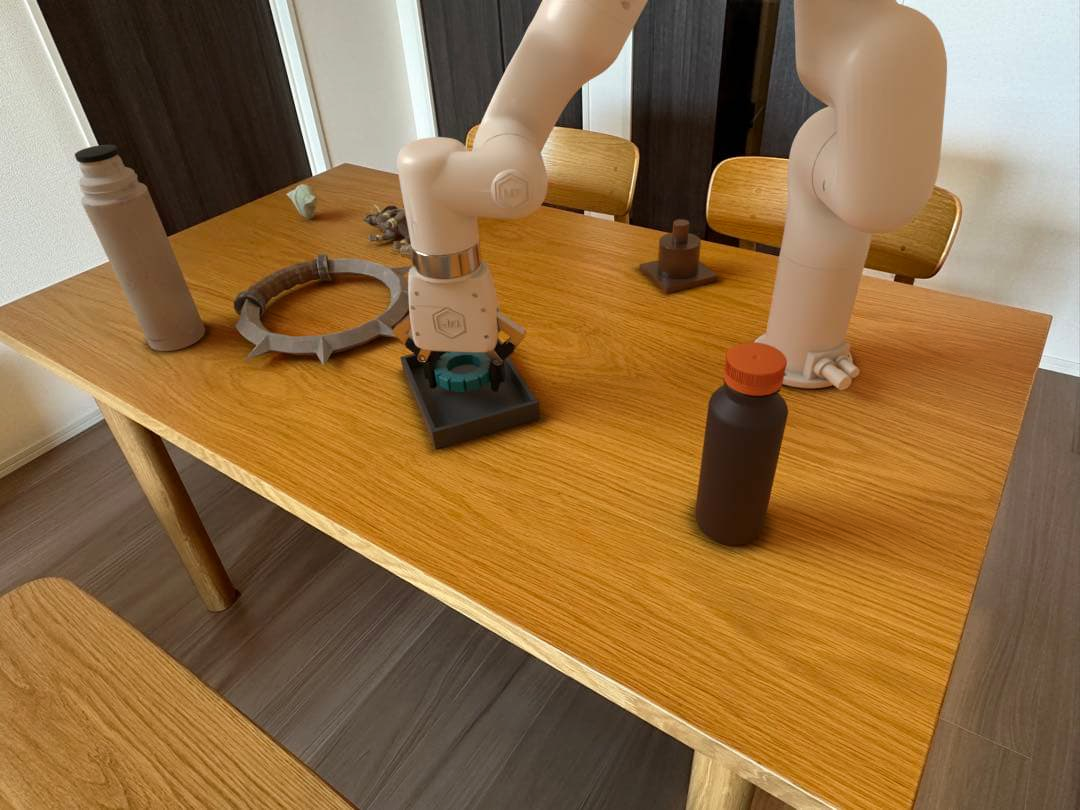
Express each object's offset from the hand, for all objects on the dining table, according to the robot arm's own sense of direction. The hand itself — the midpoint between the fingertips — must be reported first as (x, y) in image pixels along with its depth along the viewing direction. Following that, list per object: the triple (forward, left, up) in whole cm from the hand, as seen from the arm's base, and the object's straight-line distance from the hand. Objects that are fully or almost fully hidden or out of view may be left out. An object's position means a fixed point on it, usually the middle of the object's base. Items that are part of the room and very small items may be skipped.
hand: (466, 382), depth 88 cm
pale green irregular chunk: (+70, +12, -2) cm, 71 cm away
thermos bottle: (+33, +36, -2) cm, 49 cm away
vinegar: (-32, -18, -2) cm, 37 cm away
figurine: (+54, -5, -2) cm, 54 cm away
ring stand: (+16, -40, -2) cm, 43 cm away
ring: (0, 0, +2) cm, 2 cm away
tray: (0, 0, -2) cm, 2 cm away
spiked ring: (+28, +13, -2) cm, 31 cm away
